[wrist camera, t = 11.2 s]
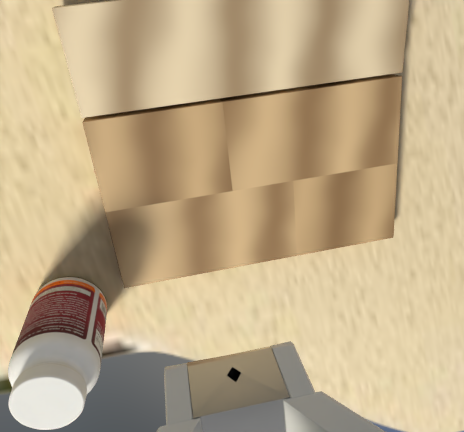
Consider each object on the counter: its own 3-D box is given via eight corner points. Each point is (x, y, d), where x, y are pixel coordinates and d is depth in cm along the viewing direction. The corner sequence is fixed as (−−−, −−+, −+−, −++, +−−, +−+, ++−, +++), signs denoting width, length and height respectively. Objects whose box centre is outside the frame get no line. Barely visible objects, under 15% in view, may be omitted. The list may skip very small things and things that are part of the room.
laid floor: (391, 73, 35) (402, 76, 34) (384, 229, 41) (393, 237, 40) (85, 117, 33) (82, 122, 31) (125, 277, 38) (124, 288, 37)
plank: (400, -33, 32) (412, -33, 30) (392, 68, 35) (402, 72, 34) (56, 6, 29) (52, 8, 28) (83, 111, 32) (81, 118, 31)
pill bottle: (16, 305, 38) (-29, 407, 28) (69, 260, 37) (42, 350, 27) (72, 345, 40) (49, 451, 30) (123, 304, 40) (115, 400, 30)
